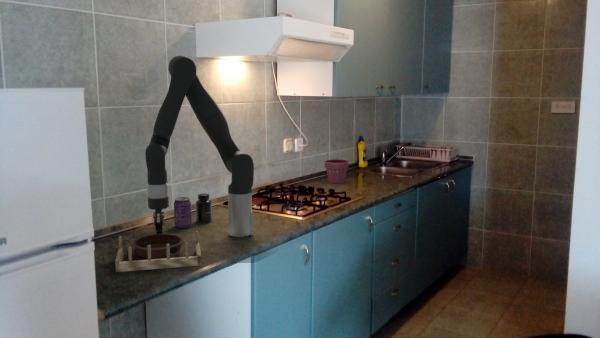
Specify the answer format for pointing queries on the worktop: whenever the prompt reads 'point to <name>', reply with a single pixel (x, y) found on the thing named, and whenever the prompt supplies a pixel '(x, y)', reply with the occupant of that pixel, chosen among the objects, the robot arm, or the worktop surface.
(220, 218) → the worktop surface
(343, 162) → the plant pot
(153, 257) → the dish
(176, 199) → the beverage can
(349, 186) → the worktop surface
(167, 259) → the rack
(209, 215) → the supplement bottle
